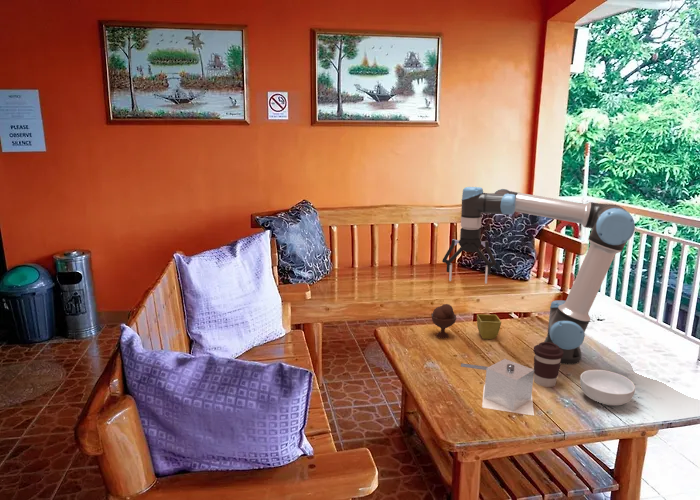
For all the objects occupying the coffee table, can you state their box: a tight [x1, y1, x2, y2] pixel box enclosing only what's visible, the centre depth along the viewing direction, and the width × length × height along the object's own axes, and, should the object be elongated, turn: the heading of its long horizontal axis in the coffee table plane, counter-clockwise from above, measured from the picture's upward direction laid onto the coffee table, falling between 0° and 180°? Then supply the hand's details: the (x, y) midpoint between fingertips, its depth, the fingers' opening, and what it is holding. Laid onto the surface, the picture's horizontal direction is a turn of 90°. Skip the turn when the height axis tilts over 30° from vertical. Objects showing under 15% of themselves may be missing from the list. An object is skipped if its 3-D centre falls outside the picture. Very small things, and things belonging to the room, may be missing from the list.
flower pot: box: [476, 313, 502, 340], centre depth 226 cm, size 9×9×9 cm
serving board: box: [481, 384, 535, 416], centre depth 173 cm, size 16×16×1 cm
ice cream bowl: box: [430, 303, 457, 340], centre depth 225 cm, size 11×11×15 cm
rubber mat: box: [460, 362, 489, 371], centre depth 192 cm, size 14×14×1 cm
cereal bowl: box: [579, 369, 636, 406], centre depth 175 cm, size 17×17×7 cm
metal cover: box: [484, 358, 534, 411], centre depth 172 cm, size 11×11×12 cm
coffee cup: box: [532, 341, 564, 388], centre depth 184 cm, size 10×10×15 cm
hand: (467, 281), depth 202 cm, fingers open, 13 cm apart
